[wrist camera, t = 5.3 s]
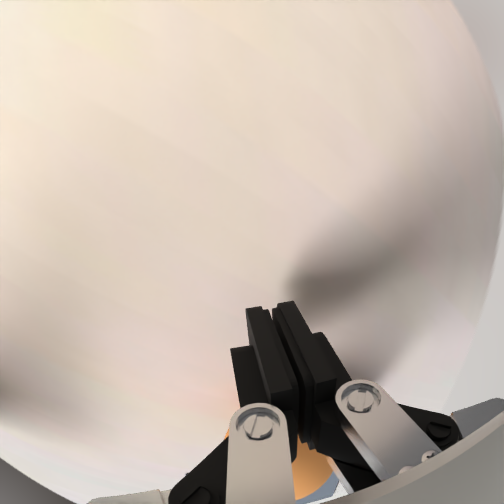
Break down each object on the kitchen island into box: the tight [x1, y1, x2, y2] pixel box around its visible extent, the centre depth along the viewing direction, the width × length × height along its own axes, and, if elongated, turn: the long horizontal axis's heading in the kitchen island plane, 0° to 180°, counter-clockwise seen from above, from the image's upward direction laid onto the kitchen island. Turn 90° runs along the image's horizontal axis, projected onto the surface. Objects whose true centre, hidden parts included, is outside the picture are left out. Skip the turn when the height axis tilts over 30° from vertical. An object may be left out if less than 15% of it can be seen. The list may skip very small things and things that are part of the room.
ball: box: [224, 429, 333, 500], centre depth 12 cm, size 6×6×6 cm
